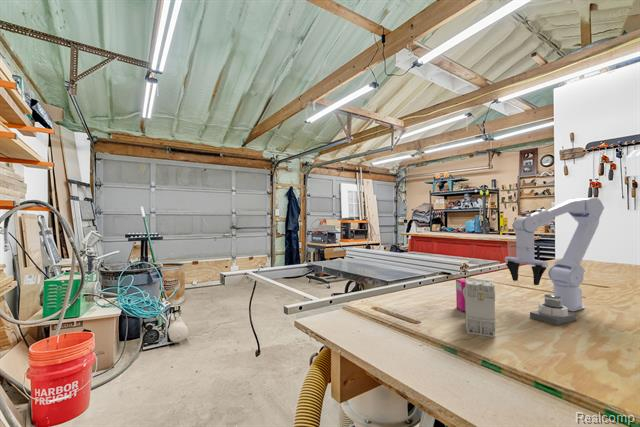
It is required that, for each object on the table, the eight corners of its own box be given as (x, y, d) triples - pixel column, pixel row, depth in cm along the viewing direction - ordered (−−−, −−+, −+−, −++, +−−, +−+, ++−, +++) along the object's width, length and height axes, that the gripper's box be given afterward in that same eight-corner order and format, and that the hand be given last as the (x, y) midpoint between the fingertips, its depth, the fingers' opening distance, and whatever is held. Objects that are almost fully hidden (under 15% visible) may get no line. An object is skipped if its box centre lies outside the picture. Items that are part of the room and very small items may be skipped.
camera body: (549, 312, 105) (549, 300, 105) (576, 320, 98) (576, 306, 98) (530, 317, 100) (529, 304, 100) (556, 325, 93) (556, 311, 93)
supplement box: (471, 308, 111) (471, 278, 111) (478, 313, 105) (478, 282, 105) (455, 307, 111) (455, 278, 111) (461, 312, 105) (461, 281, 106)
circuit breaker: (489, 321, 97) (489, 277, 97) (495, 337, 84) (495, 286, 84) (464, 318, 100) (464, 275, 100) (466, 333, 87) (466, 283, 87)
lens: (548, 310, 102) (547, 293, 102) (563, 313, 98) (563, 296, 98) (542, 312, 100) (541, 295, 100) (557, 316, 96) (557, 298, 96)
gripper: (500, 246, 116) (500, 279, 115) (540, 250, 102) (540, 287, 102) (511, 245, 119) (511, 278, 118) (551, 249, 105) (551, 285, 105)
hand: (525, 282), depth 110 cm, fingers open, 7 cm apart
